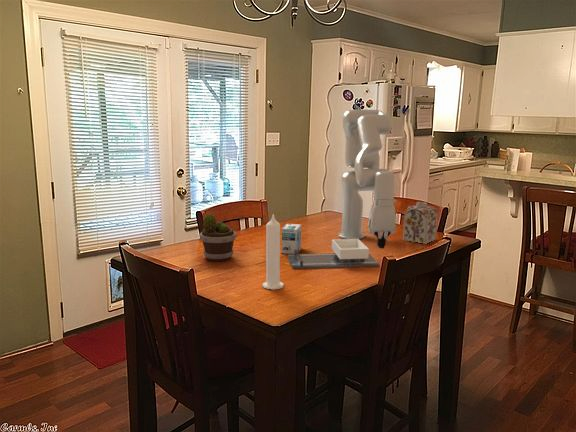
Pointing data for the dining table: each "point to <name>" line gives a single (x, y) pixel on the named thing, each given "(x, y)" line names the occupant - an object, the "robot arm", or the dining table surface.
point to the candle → (273, 255)
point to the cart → (350, 249)
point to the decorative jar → (420, 223)
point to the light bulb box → (291, 238)
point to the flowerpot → (217, 239)
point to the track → (326, 261)
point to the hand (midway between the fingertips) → (381, 247)
